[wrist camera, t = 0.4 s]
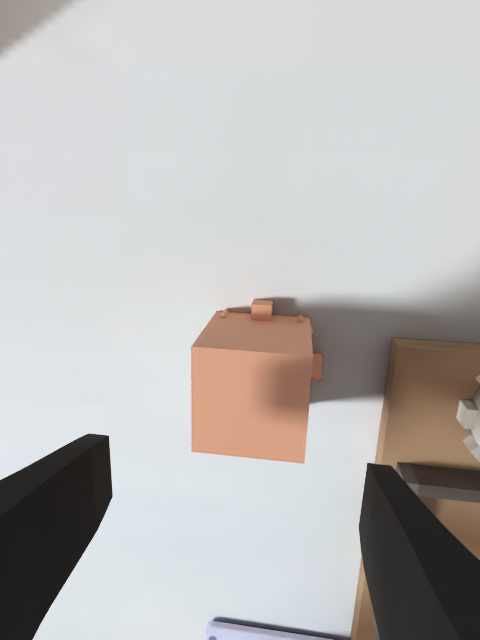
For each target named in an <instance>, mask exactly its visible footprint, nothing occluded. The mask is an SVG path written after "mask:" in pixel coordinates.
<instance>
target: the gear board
mask: <svg viewBox="0 0 480 640" xmlns="http://www.w3.org/2000/svg"><path fill="white" fill-rule="evenodd" d="M375 464H381V465H391V466H392V467H393V468H394V469H395V470H396V472H397V473H398V474H399V475H400V476H401V477H402V479H403V480H404V481H405V482H406V483H407V484H408V486H409V487H410V488H411V489H412V490H413V492H414V493H415V494H416V495H417V496H418V497H419V499H420V500H421V501H422V502H423V503H424V504H425V505H426V506H427V508H428V509H429V510H430V511H431V512H432V513H433V514H434V515H435V516H436V517H437V519H438V520H439V521H440V522H441V523H442V524H443V525H444V526H445V527H446V528H447V529H448V530H449V531H450V532H451V533H452V534H453V535H454V536H455V537H456V538H457V539H458V540H459V541H460V542H461V543H462V544H463V545H464V546H465V547H466V548H467V549H468V550H469V551H470V552H471V553H472V554H473V555H474V556H476V557H477V558H478V559H479V560H480V344H476V343H462V342H448V341H433V340H419V339H404V338H392V345H391V352H390V359H389V366H388V374H387V381H386V388H385V395H384V402H383V409H382V416H381V423H380V431H379V438H378V445H377V452H376V459H375ZM350 640H380V638H379V634H378V629H377V625H376V621H375V616H374V612H373V608H372V603H371V599H370V594H369V590H368V585H367V581H366V577H365V572H364V567H363V560H362V559H361V566H360V573H359V580H358V587H357V594H356V601H355V609H354V616H353V623H352V630H351V637H350Z"/></svg>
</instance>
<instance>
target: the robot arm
mask: <svg viewBox="0 0 480 640" xmlns="http://www.w3.org/2000/svg"><path fill="white" fill-rule="evenodd" d="M111 499H112V481H111V465H110V449H109V436H106V435H97V434H87V435H85V436H82V437H80V438H78V439H76V440H74V441H73V442H71V443H69V444H67V445H65V446H63V447H62V448H60V449H58V450H56V451H54V452H53V453H51V454H49V455H47V456H45V457H44V458H42V459H40V460H38V461H36V462H34V463H33V464H31V465H29V466H27V467H25V468H23V469H22V470H20V471H18V472H16V473H14V474H12V475H10V476H8V477H6V478H4V479H2V480H0V640H32V639H33V637H34V635H35V633H36V631H37V630H38V628H39V626H40V624H41V622H42V620H43V619H44V617H45V615H46V613H47V612H48V610H49V608H50V606H51V605H52V603H53V601H54V600H55V598H56V597H57V595H58V593H59V592H60V590H61V589H62V587H63V585H64V584H65V582H66V580H67V579H68V577H69V576H70V574H71V572H72V571H73V569H74V568H75V566H76V564H77V563H78V561H79V559H80V558H81V556H82V555H83V553H84V551H85V550H86V548H87V546H88V545H89V543H90V541H91V540H92V538H93V536H94V535H95V533H96V531H97V530H98V528H99V525H100V523H101V521H102V519H103V517H104V515H105V513H106V510H107V508H108V506H109V503H110V501H111ZM359 533H360V542H361V552H362V560H363V567H364V572H365V577H366V581H367V585H368V590H369V594H370V599H371V603H372V608H373V612H374V616H375V621H376V625H377V629H378V634H379V638H380V640H480V560H479V559H478V558H477V557H476V556H474V555H473V554H472V553H471V552H470V551H469V550H468V549H467V548H466V547H465V546H464V545H463V544H462V543H461V542H460V541H459V540H458V539H457V538H456V537H455V536H454V535H453V534H452V533H451V532H450V531H449V530H448V529H447V528H446V527H445V526H444V525H443V524H442V523H441V522H440V521H439V520H438V519H437V517H436V516H435V515H434V514H433V513H432V512H431V511H430V510H429V509H428V508H427V506H426V505H425V504H424V503H423V502H422V501H421V500H420V499H419V497H418V496H417V495H416V494H415V493H414V492H413V490H412V489H411V488H410V487H409V486H408V484H407V483H406V482H405V481H404V480H403V479H402V477H401V476H400V475H399V474H398V473H397V472H396V470H395V469H394V468H393V467H392V466H391V465H381V464H372V463H367V471H366V478H365V486H364V493H363V500H362V508H361V515H360V522H359ZM205 640H333V639H327V638H321V637H314V636H308V635H301V634H295V633H288V632H282V631H275V630H269V629H262V628H256V627H249V626H243V625H236V624H230V623H223V622H217V621H211V622H209V623H207V626H206V630H205Z"/></svg>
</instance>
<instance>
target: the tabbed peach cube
mask: <svg viewBox="0 0 480 640" xmlns="http://www.w3.org/2000/svg"><path fill="white" fill-rule="evenodd" d="M272 311H273V300H258V299H254V300H253V302H252V305H251V313H236V312H229V311H228V309H225V310H224V311H223V312H220V311H217V312H216V313H215V314H214V316H213V317H212V319H211V320H210V321H209V323H208V324H207V326H206V327H205V328H204V330H203V331H202V333H201V334H200V335H199V337H198V338H197V340H196V341H195V342H194V344H193V345H192V347H191V397H192V452H201V453H210V454H220V455H229V456H238V457H248V458H257V459H267V460H276V461H285V462H295V463H304V459H305V447H306V435H307V424H308V412H309V400H310V388H311V379H318V380H321V379H322V368H323V357H322V354H319V353H313V347H312V336H311V335H313V327H312V326H311V324H310V317H303V316H302V315H301V314H298V315H297V316H282V315H272Z"/></svg>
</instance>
